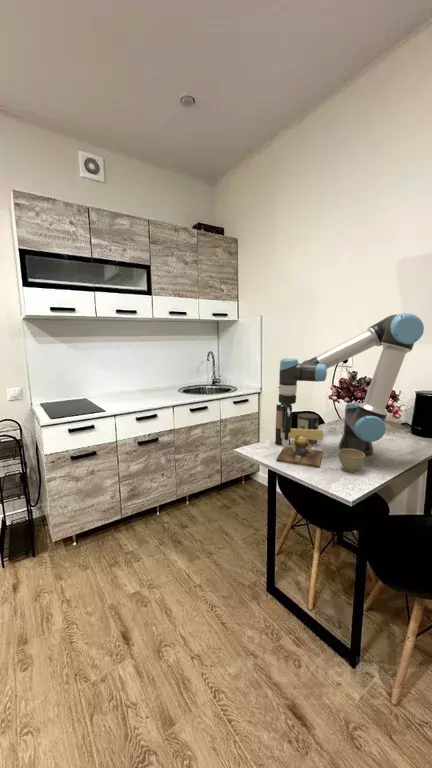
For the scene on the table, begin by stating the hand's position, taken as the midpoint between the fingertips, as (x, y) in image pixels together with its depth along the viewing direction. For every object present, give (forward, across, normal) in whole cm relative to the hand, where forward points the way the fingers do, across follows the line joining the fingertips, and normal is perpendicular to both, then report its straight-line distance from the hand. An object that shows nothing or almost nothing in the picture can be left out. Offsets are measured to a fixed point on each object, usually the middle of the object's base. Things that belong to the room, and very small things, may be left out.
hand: (285, 444), depth 150 cm
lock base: (+5, 0, +7) cm, 9 cm away
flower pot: (+6, +12, +25) cm, 28 cm away
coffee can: (+6, -20, +14) cm, 25 cm away
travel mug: (+6, -17, +1) cm, 18 cm away
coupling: (+1, 0, +7) cm, 7 cm away
